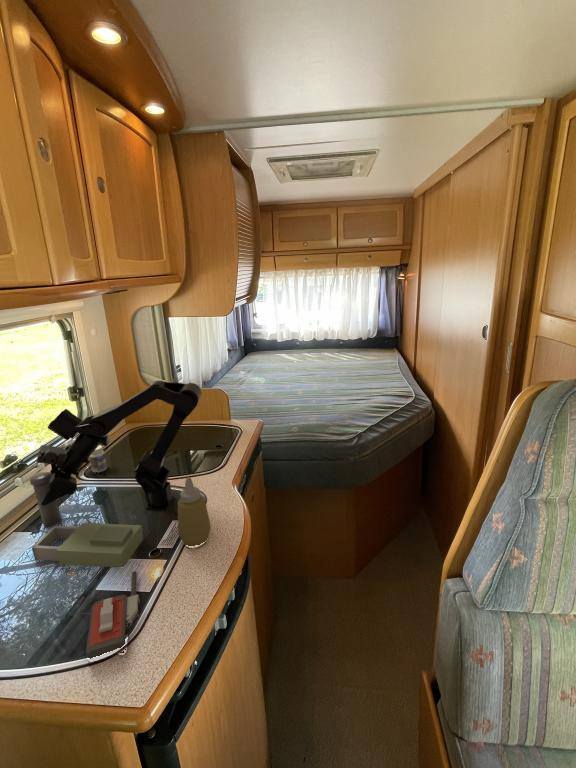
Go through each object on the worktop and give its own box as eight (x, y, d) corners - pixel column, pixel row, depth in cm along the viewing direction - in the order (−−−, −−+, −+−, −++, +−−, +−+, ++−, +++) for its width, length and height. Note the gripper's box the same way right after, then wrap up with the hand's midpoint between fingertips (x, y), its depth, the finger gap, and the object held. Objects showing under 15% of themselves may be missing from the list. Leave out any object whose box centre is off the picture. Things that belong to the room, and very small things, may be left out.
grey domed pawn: (67, 515, 108) (56, 472, 104) (54, 527, 103) (43, 482, 99) (50, 515, 109) (39, 471, 104) (37, 527, 104) (24, 482, 100)
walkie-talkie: (139, 655, 69) (140, 575, 87) (135, 636, 68) (137, 559, 86) (85, 672, 66) (98, 586, 84) (80, 653, 65) (94, 570, 83)
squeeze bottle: (192, 557, 91) (183, 492, 86) (173, 542, 96) (164, 480, 91) (218, 539, 97) (212, 477, 92) (199, 526, 102) (192, 466, 97)
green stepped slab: (143, 538, 98) (140, 521, 96) (123, 567, 89) (120, 549, 87) (59, 534, 101) (55, 517, 99) (31, 562, 91) (26, 544, 89)
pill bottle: (101, 473, 130) (96, 451, 128) (89, 472, 131) (84, 450, 128) (110, 466, 134) (106, 445, 132) (98, 465, 135) (94, 444, 133)
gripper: (54, 423, 108) (17, 468, 107) (52, 449, 93) (8, 502, 91) (90, 442, 114) (55, 484, 113) (93, 469, 99) (53, 519, 97)
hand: (43, 496), depth 103 cm, fingers open, 9 cm apart
